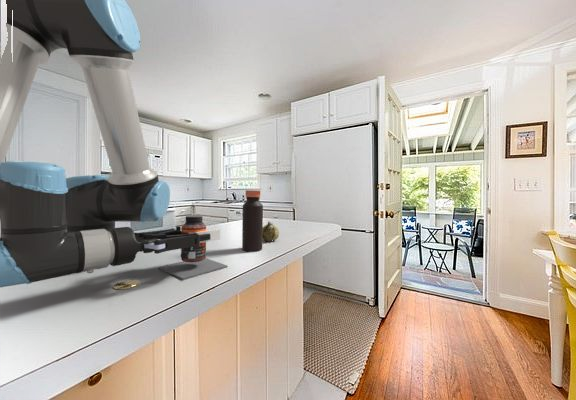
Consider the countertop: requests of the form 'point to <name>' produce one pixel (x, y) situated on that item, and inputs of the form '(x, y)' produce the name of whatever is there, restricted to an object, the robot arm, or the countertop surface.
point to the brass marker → (126, 284)
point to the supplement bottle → (191, 227)
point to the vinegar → (252, 222)
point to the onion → (270, 232)
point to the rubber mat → (192, 268)
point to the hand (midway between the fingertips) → (211, 232)
